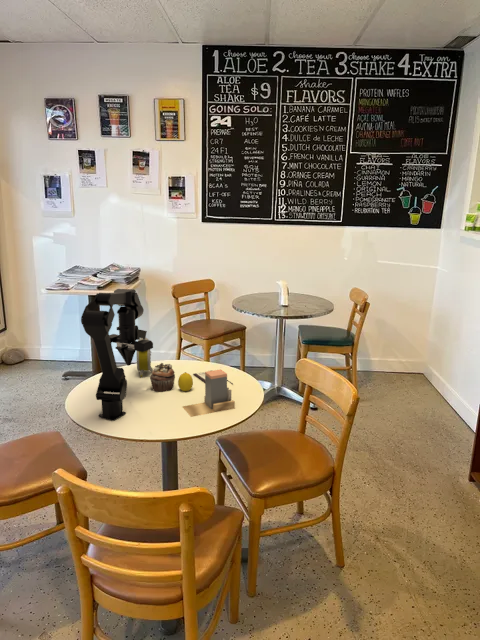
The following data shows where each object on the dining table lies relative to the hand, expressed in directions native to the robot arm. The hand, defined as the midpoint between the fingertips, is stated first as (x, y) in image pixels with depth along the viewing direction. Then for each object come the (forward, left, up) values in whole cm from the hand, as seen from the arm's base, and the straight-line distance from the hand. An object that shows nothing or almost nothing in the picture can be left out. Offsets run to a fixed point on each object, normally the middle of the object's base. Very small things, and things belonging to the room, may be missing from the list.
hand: (128, 365), depth 171 cm
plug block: (+7, -33, -11) cm, 35 cm away
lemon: (+13, -16, -12) cm, 24 cm away
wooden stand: (+4, -32, -12) cm, 34 cm away
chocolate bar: (+30, -18, -13) cm, 37 cm away
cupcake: (+12, -6, -12) cm, 18 cm away
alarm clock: (+22, +10, -12) cm, 27 cm away
